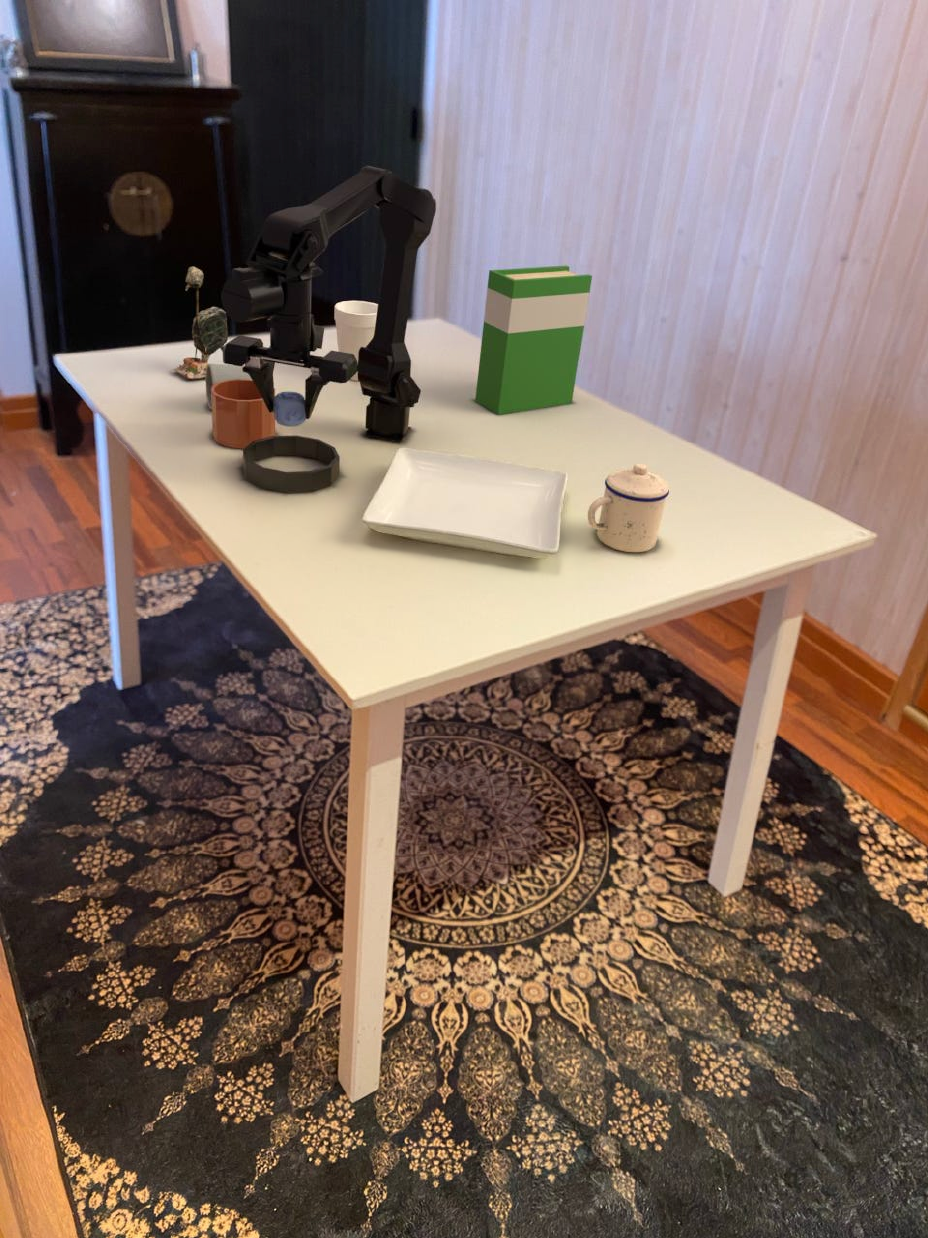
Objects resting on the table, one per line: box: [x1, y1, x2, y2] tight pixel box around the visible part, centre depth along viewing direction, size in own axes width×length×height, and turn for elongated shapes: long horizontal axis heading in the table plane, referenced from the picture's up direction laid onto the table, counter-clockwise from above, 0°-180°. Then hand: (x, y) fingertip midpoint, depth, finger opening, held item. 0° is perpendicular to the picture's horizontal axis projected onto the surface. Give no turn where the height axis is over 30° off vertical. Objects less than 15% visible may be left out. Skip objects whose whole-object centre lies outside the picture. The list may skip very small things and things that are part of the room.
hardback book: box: [474, 265, 593, 415], centre depth 186 cm, size 18×7×24 cm, turn 124°
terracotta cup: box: [211, 379, 276, 450], centre depth 163 cm, size 10×10×8 cm
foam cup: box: [333, 300, 378, 381], centre depth 193 cm, size 10×9×13 cm
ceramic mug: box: [205, 363, 252, 411], centre depth 175 cm, size 11×8×8 cm
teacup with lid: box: [587, 463, 670, 553], centre depth 144 cm, size 12×9×12 cm
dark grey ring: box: [242, 434, 341, 494], centre depth 155 cm, size 14×14×3 cm
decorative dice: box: [273, 391, 307, 427], centre depth 150 cm, size 4×4×4 cm
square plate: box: [361, 447, 569, 559], centre depth 148 cm, size 27×27×4 cm
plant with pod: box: [172, 266, 229, 380], centre depth 184 cm, size 8×11×20 cm
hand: (290, 414), depth 151 cm, fingers closed on decorative dice, 5 cm apart
